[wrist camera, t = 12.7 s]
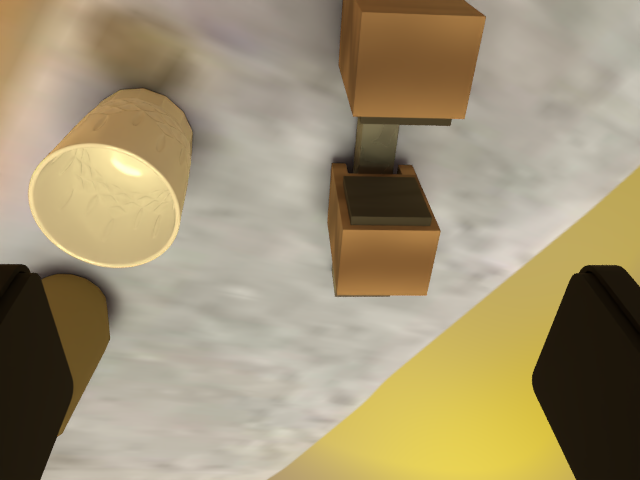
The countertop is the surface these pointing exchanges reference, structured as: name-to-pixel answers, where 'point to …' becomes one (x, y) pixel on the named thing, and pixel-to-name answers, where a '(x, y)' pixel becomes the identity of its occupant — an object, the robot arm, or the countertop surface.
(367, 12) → the wooden block
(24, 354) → the robot arm
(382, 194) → the brown capped cube
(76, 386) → the squeeze bottle
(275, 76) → the countertop surface
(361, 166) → the rail
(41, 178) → the white cup
